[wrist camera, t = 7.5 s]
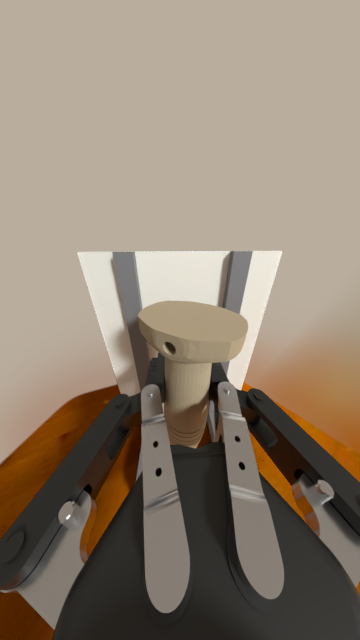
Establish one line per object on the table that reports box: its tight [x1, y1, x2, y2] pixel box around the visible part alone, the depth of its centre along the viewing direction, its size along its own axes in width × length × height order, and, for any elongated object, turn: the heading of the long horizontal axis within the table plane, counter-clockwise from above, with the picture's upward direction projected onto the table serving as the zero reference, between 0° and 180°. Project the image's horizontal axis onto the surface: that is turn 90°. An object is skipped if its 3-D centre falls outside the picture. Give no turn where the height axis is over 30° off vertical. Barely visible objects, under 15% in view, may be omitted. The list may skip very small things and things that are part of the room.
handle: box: [138, 301, 248, 449], centre depth 12 cm, size 5×6×15 cm
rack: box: [77, 251, 282, 480], centre depth 15 cm, size 18×10×26 cm, turn 93°
